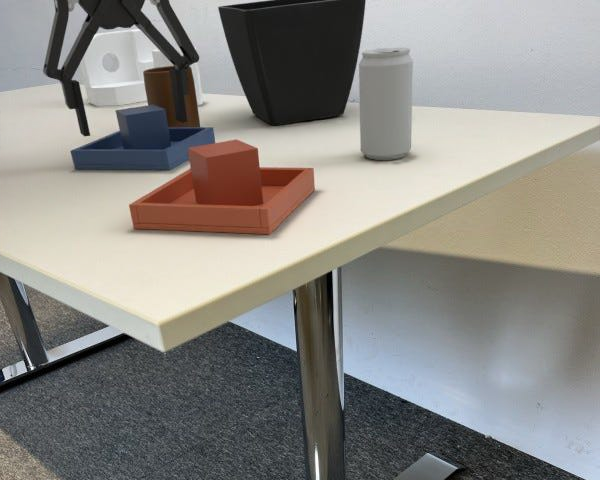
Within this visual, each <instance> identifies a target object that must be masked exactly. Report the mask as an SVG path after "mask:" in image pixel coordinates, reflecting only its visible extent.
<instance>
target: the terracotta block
mask: <svg viewBox="0 0 600 480" xmlns="http://www.w3.org/2000/svg"><path fill="white" fill-rule="evenodd" d="M188 154H189V159H188V161H189V165H190V168H191V173H192V179H193V186H194V192H195V198H196V202H198V203H199V204H201V205H230V206H253V205H258V204H262V203H263V196H262V186H261V176H260V167H261V166H260V157H259V149H258V147H256V146H254V145H251V144H249V143H247V142H244V141H241V140H239V139H232V140H231V139H230V140H225V141H219V142H215V143H213V144H207V145H202V146H196V147H190V148H188Z"/></svg>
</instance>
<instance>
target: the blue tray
mask: <svg viewBox="0 0 600 480" xmlns="http://www.w3.org/2000/svg"><path fill="white" fill-rule="evenodd" d="M168 129H169V135H170V141H171V146H170V147H168V148H166V149H164V150H124V149H123V144H122V139H121V134H120V130H118V131H115V132H113V133H110V134H108V135H105V136H103V137H100V138H98V139H95V140H93V141H91V142H88V143H86V144H83V145H81V146H78V147H75V148H73V149H71V150H70V156H71V160H72V164H73V168H74V169H75V170H130V171H131V170H132V171H133V170H134V171H135V170H139V171H141V170H142V171H171V170H172V169H174V168H177V167H178V166H180V165H181V164H183V163H185V162H186V161H189V154H188V148H190V147H196V146H202V145H207V144H213V143H216V138H215V136H216V135H215V129H214V127H213V126H200V127H168Z"/></svg>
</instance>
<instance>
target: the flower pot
mask: <svg viewBox="0 0 600 480" xmlns="http://www.w3.org/2000/svg"><path fill="white" fill-rule="evenodd" d="M366 2H367V1H366V0H259V1H253V2H245V3H243V2H242V3H235V4H227V5H219V6H218V7H217V8H218V13H219V18H220V21H221V25H222V26H221V27H222V29H223V33H224V38H225V41H226V44H227V47H228V51H229V54H230V58H231V60H232V64H233V66H234V69H235V72H236V75H237V78H238V80H239V83H240V86H241V88H242V91H243V93H244V96H245V98H246V101H247V103H248V106H249V107H250V111H251V112H252V114H253V115H254V116H256V117H258V118H259V119H261V120H262V121H264V122H266V123H268V124H269V125H272V126H279V125H284V124H285V125H286V124H292V123H299V122H306V121H312V120H317V119H318V120H319V119H324V118H330V117H331V118H332V117H337V116H341V115H342V116H343V115H344V113H345V112H346V111H345V110H346V108H347V104H348V101H349V98H350V95H351V90H352V87H353V82H354V78H355V73H356V69H357V64H358V60H359V55H360V49H361V43H362V36H363V29H364V28H363V27H364V22H365V21H364V20H365V11H366Z"/></svg>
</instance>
